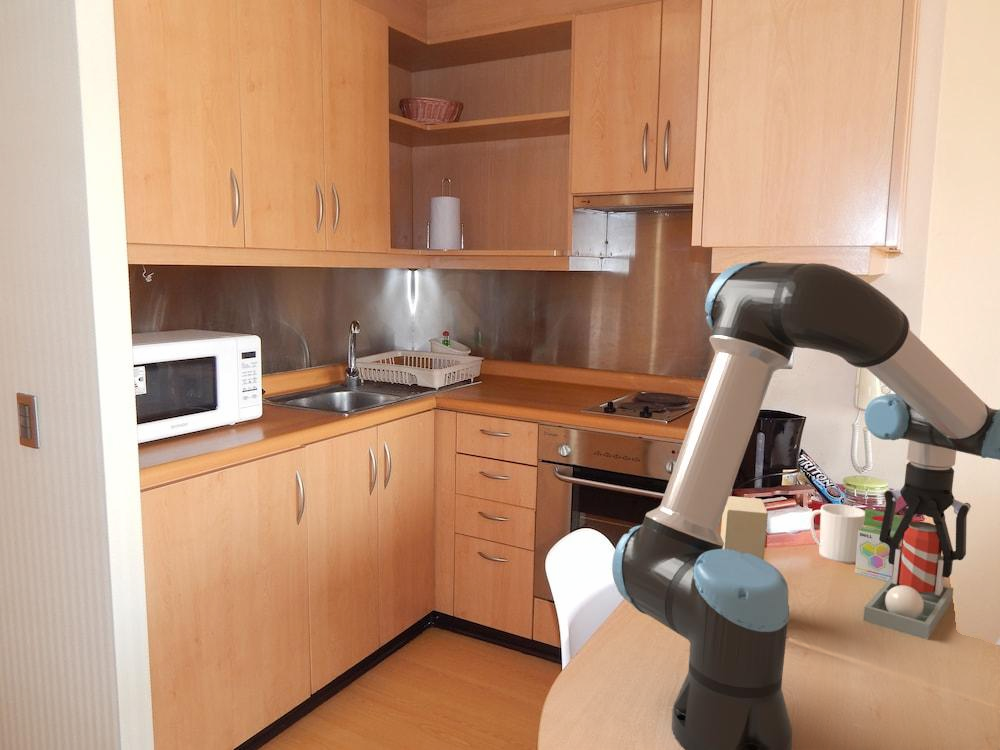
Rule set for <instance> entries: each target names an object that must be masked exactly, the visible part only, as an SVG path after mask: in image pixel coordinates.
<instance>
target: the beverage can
mask: <svg viewBox="0 0 1000 750" xmlns="http://www.w3.org/2000/svg"><path fill="white" fill-rule="evenodd" d="M901 546H902V547H901V557H900V566H899V576H898V582H899V584H900V585H905V586H909V587H912V588H913V589H915V590H916V591H917V592H918V593H919V594H929V593H931V592H934V591H935V587H936V578H937V569H938V560H939V559H940V557H941V556H942V549H941V546H940V542H939V538H938V534H937V530H936V526H935V523H931V522H926V521H917V520H916V521H915V520H914V521H913V520H912V521H911V522H910V523H909V524H908V527H907V528H906V530H905V532H904V534H903V537H902V540H901Z"/></svg>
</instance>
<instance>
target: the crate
mask: <svg viewBox="0 0 1000 750" xmlns="http://www.w3.org/2000/svg"><path fill="white" fill-rule="evenodd" d="M892 580H893V575H892V577H891V578H890V579H889V580H888V581H887V582H885V583H884V585H883V586H881V588H880V589H879V590H878V591H877V593H875V595H874V596H873V597H872V598H871V599H870V600H869V601H868V603H867V604H866V605H865V606H864V610H863V620H862V621H863V622H866V623H869V624H873V625H877V626H879V627H884V628H887V629H889V630H893V631H897V632H899V633H904V634H907V635H910V636H914V637H916V638H917V637H918V638H921V639H924V640H929V638H930V637H931V636H932V634H933V632H934V630H935V629H936V627H937V626H938V624H939V623H940V621H941V619H942V618H943V616H944V615H945V613H946V611H947V609H948V608H949V606H951V604H952V602H953V597H954V596H953V595H954V590H955V589H954V587H951V586H947V585H944V584H943V591H942V592H941V594H940V595H935V591H934V592H931V593H929V594H920V595H921V597H922V599H923V602H924V609H923V612H922V614H921V615H920V616H919V617H918V618H917V619H912V618H909V617H905V616H902V615H898V614H895V613H891V612H888V610H887V608H886V605H885V597H886V594H887V592H888V591H889V590H890V589H891V588H893V587H895V586H899V585H900V584H899V582H898V583H897V584H893V583H892Z"/></svg>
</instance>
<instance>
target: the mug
mask: <svg viewBox="0 0 1000 750" xmlns="http://www.w3.org/2000/svg"><path fill="white" fill-rule="evenodd" d="M819 514H820V515H819ZM817 515H819V517H820V519H819V539H818V537H817V535H816V531H815V526H814V525H815V524H814V523H815V522H814V519H815V516H817ZM864 519H865V510H864V509H861V508H859V507H857V506H853V505H848V504H843V503H826V504H822V505H821V506H820V509H815V510H813V511H811V513H810V515H809V526H810V527H809V529H810V532H811V536H812V537H813V540H814V542H815V543H816V544H817V545H818V550H819V551H818V554H819V556H820V557H821V558H823V559H826V560H828V561H833V562H837V563H841V564H845V565H850V564H851V565H852V564H853V565H854V564H856V553H857V541H858V531H859V530H860V529H861V528H862V527H863V525H864Z"/></svg>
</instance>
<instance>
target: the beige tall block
mask: <svg viewBox="0 0 1000 750" xmlns="http://www.w3.org/2000/svg"><path fill="white" fill-rule="evenodd" d="M767 510H768V509H767V508H766V506H765V503H764V501H763V499H762V498H755V497H744V496H743V497H742V496H730V495H729V498H728V501H727V504H726V506H725V509H724V512H723V515H722V518H721V523H720V524H721V525H720V536H721V538H722V540H723V542H724V546H723V548H722V549H728V550H736V551H738V552H739V553H742V554H744V553H748V554H751V555H754V556H757V557H759V558H761V559H763V560H765V549H766V541H767V540H766V539H767V538H766V537H767V527H768V519H769V518H768V515H769V514H768V513H769V512H768V511H767Z"/></svg>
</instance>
